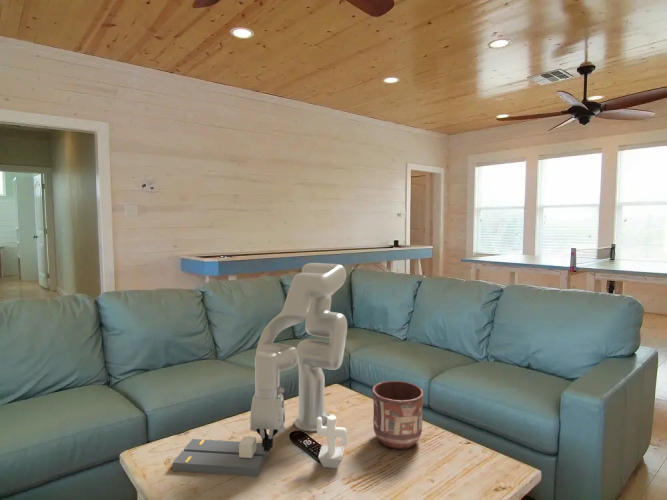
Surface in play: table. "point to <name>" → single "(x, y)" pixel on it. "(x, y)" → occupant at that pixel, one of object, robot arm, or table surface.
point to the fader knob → (247, 447)
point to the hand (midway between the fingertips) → (267, 449)
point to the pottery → (397, 413)
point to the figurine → (331, 442)
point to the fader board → (219, 458)
